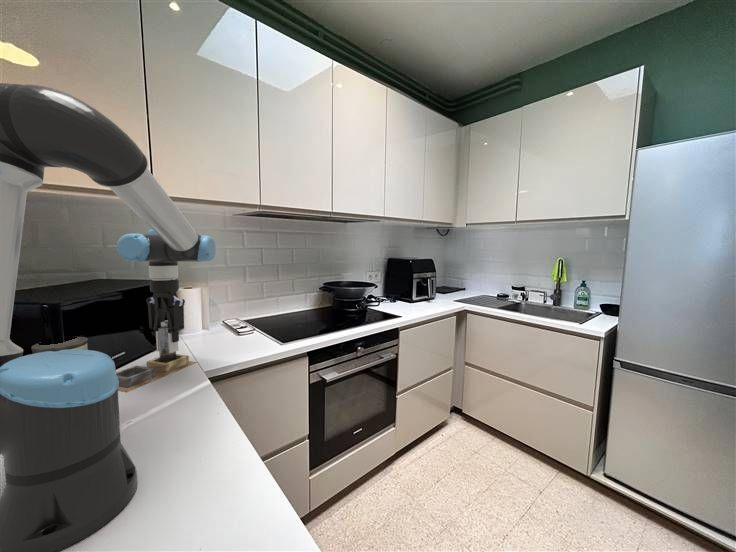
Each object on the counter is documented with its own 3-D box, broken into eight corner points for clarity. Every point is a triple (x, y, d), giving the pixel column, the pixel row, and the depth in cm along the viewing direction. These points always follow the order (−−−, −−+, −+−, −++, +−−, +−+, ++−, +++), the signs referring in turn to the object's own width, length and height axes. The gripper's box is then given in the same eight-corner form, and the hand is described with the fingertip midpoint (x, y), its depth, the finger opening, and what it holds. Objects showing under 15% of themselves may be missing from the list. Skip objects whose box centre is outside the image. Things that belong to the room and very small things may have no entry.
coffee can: (25, 405, 71) (20, 350, 70) (50, 387, 81) (47, 338, 80) (79, 397, 76) (75, 345, 74) (97, 381, 85) (94, 335, 84)
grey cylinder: (167, 366, 90) (165, 323, 89) (156, 365, 92) (154, 322, 90) (179, 361, 94) (177, 320, 93) (169, 360, 96) (167, 319, 95)
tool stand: (126, 397, 76) (126, 383, 75) (95, 391, 79) (94, 377, 79) (197, 366, 97) (197, 354, 96) (170, 362, 100) (170, 351, 100)
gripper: (196, 279, 92) (198, 349, 94) (155, 277, 97) (158, 344, 99) (174, 281, 85) (177, 357, 87) (131, 279, 90) (135, 351, 92)
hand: (167, 350), depth 93 cm, fingers closed on grey cylinder, 4 cm apart
